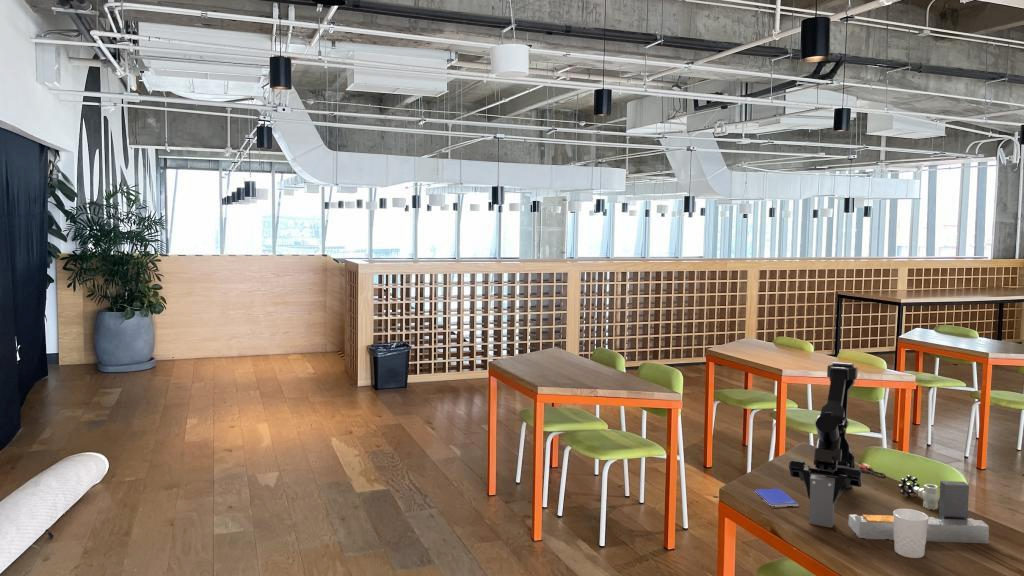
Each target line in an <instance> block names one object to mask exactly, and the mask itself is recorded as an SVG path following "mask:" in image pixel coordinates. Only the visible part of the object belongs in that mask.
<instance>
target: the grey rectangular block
mask: <svg viewBox="0 0 1024 576" xmlns="http://www.w3.org/2000/svg"><path fill="white" fill-rule="evenodd" d="M834 492H835V478H829V477H826V476H822V475H815V474H811V478H810V499H809V512H808V513H809V519H808V524H809V525H816V526H821V527H826V528H830V529H831V528H832V529H833V527H834V525H835V503H833V497H834Z"/></svg>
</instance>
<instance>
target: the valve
mask: <svg viewBox="0 0 1024 576" xmlns="http://www.w3.org/2000/svg"><path fill="white" fill-rule="evenodd" d="M900 482H902V483H900V484H898V485H897V488H898V489H901V491H900V495H903V496H907V497H908V496H912V494H914V495H916V494H917V496H918V497H919V498H921V499H923V501H922V507H923V508H924V507H925V508H924V509H926V508H927V509H926V510H930V509H933V510H932V511H935V509H936V510H938V509H939V508H938V507H939V505H938V502H939V501H940V494H939V489H940V486H938V485H936V484H930V483H926V484H924V485H923V487H921V488H920V486H921V485H920V484H919V483H917V482H918V478H917V477H915V476H914V477H913V476H912V475H910V474H907V475H906V478H905V477H902V478H900ZM907 482H908V483H907ZM909 482H911V483H909ZM906 488H907V489H908V490H906Z"/></svg>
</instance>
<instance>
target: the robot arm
mask: <svg viewBox="0 0 1024 576" xmlns="http://www.w3.org/2000/svg"><path fill="white" fill-rule="evenodd" d="M858 373H859V370H858V367H857V366H855V365H854V363H852V362H841V361H840V362H838V361H833V362H832V364H829V365H827V370H826V377H827V378H829V382H830V383H829V389H828V395H827V402H826V404H824V405H823V406H822V407H821V408H820V414H818V415H817V417H816V420H815V422H814V423H815V427H816V433H817V438H818V444H817V448H814V457H813V465H814V466H810V465H807V464H806V462H805V460H798V459H791V460H790V461H789V464H788V469H789V474H790V477H792V478H797V479H799V480H800V481H801V482H804V485H805V487H806V493H807V497H808V500H810V478H811V476H812V475H815V476H822V477H829V478H835V492H834V497H833V503H834V504H835V503H836V502H837V501H838V499H839V497H840V496H841V495H842V494H843V492H844V491H846V490H849V489H853V487H857V488H861V487H862V486H863V484H862V483H863V476H862V473H863V472H861V470H860V469H859V468H855V466H856V465H855V464H856V461H855V456H854V453H853V451H851V449H852V447H851V445H850V443H849V441H848V438H847V428H848V427H849V422H850V421H849V420H848V411H849V410H848V407H849V392H850V391H851V389H852V387H854V386H855V382H856V379H857V378H858Z"/></svg>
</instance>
